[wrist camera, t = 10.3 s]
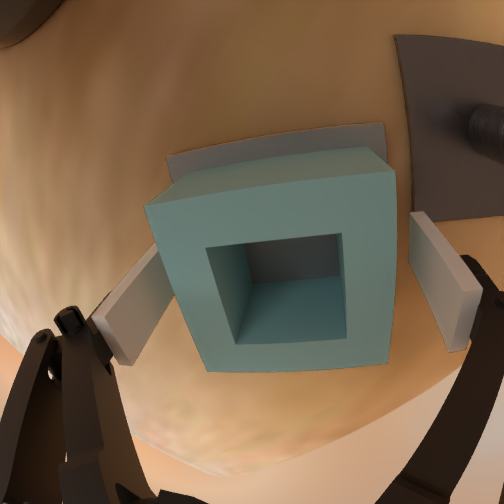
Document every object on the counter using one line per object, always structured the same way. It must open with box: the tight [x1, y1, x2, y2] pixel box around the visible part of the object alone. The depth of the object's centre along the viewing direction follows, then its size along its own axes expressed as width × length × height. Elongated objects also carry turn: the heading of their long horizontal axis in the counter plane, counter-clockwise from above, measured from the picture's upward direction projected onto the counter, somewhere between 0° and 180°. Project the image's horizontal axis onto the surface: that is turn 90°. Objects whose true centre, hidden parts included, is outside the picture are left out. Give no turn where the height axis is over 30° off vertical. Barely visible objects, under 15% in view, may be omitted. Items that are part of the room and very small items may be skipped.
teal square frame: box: [144, 146, 397, 372], centre depth 14 cm, size 9×9×5 cm
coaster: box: [166, 122, 388, 284], centre depth 17 cm, size 11×11×1 cm
